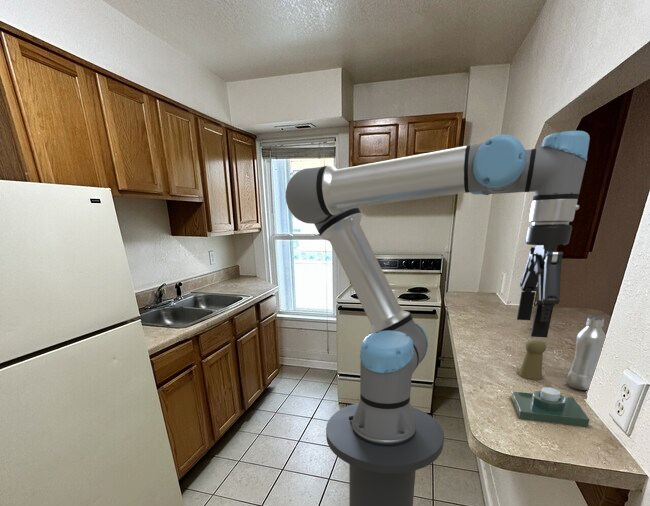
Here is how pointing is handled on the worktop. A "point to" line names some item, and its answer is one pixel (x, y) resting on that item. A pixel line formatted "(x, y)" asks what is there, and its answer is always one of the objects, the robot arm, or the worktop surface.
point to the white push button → (550, 394)
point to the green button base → (549, 409)
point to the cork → (533, 360)
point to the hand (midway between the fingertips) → (530, 327)
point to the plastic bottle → (587, 353)
